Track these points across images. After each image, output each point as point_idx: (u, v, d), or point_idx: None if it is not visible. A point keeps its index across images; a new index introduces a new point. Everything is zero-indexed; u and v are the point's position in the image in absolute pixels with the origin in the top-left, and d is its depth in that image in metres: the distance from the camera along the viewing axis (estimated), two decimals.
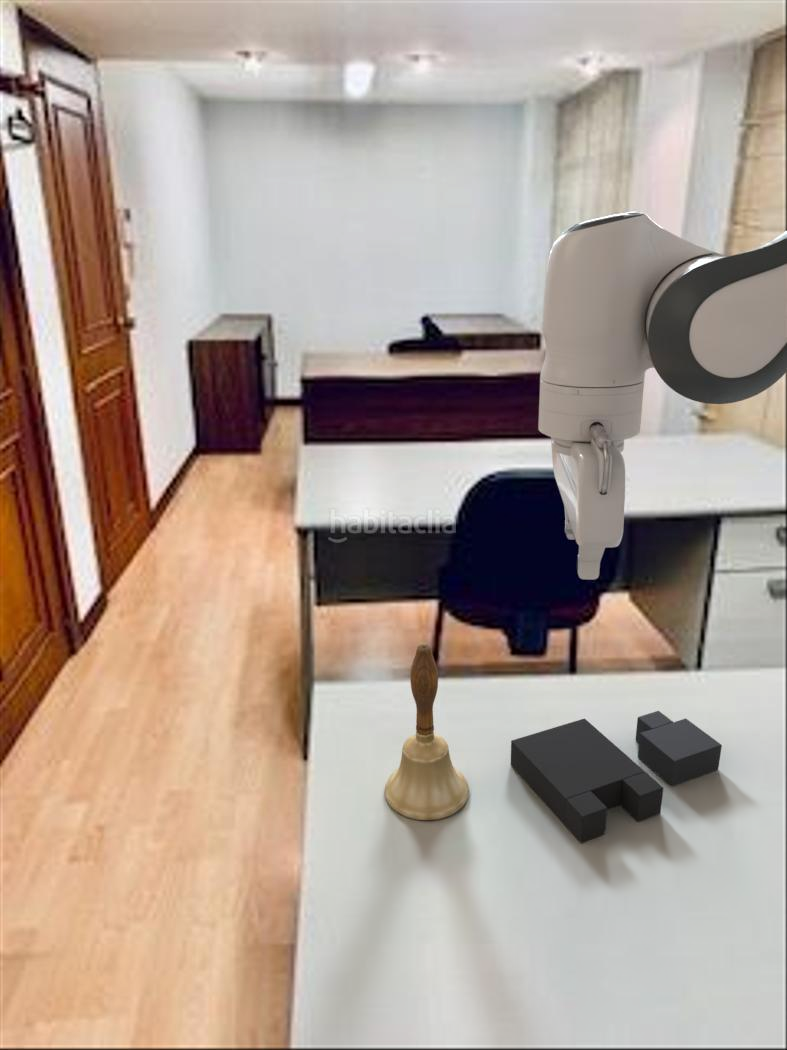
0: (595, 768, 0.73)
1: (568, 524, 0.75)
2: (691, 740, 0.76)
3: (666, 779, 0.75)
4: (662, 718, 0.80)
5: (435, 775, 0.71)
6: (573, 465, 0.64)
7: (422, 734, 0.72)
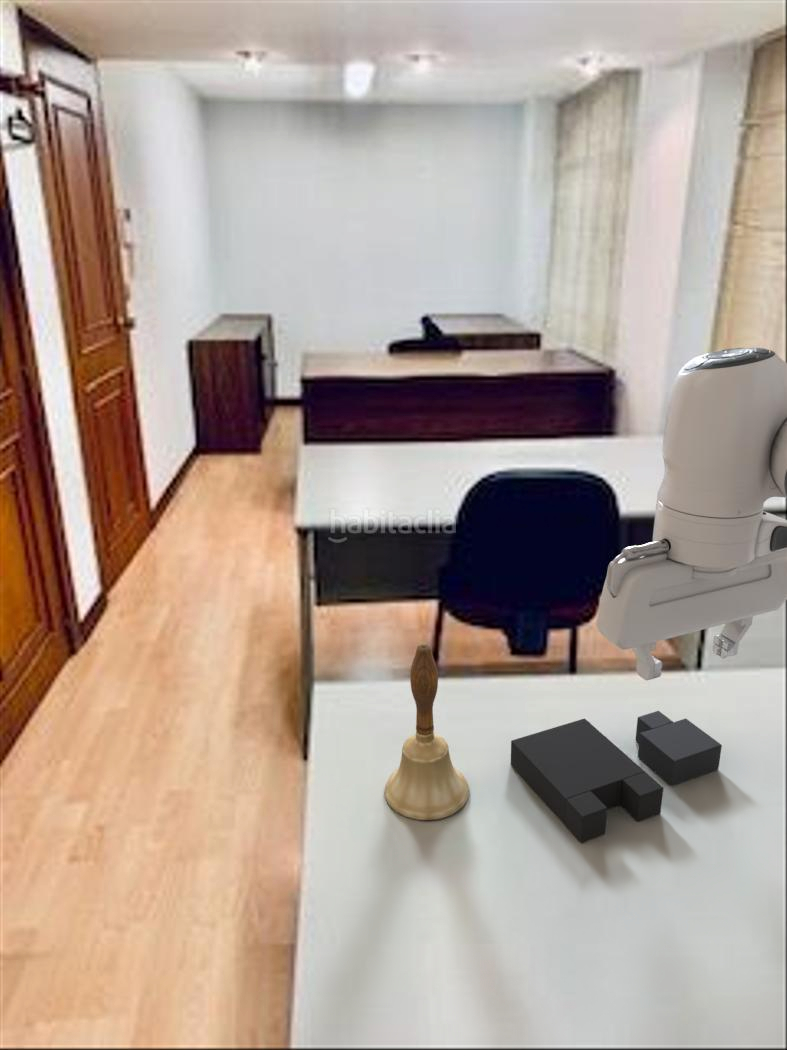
0: (595, 768, 0.73)
1: (715, 637, 0.75)
2: (691, 740, 0.76)
3: (666, 779, 0.75)
4: (662, 718, 0.80)
5: (435, 775, 0.71)
6: None
7: (422, 734, 0.72)
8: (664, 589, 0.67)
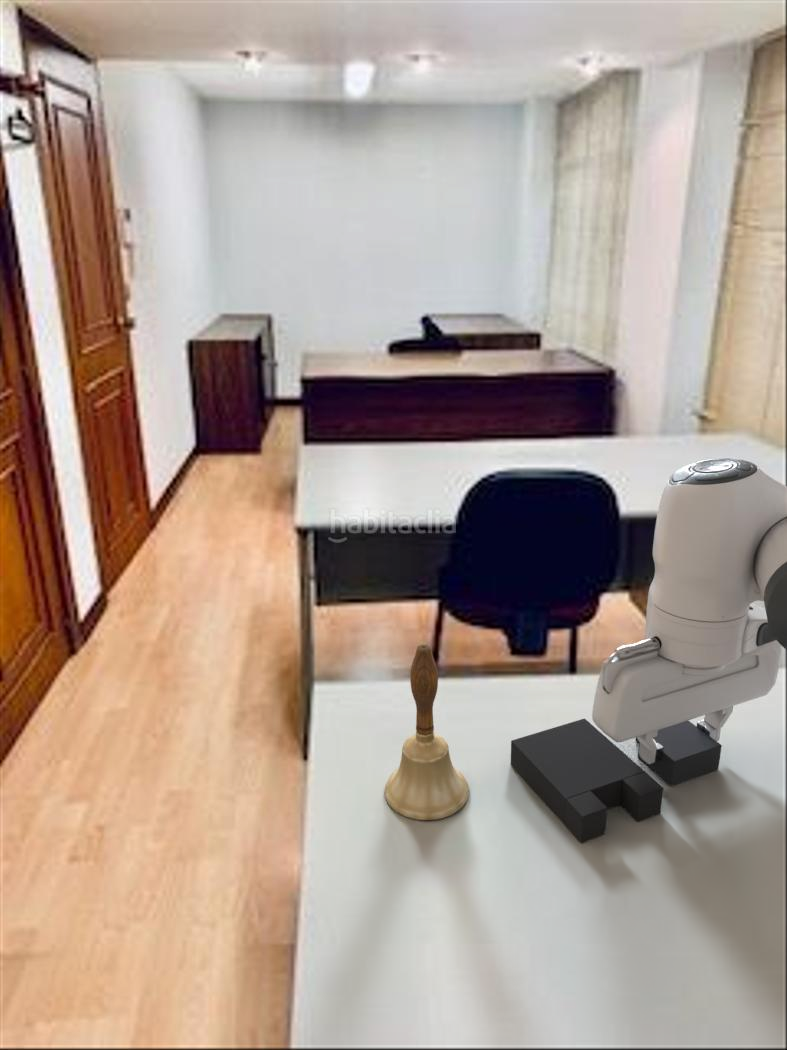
0: (595, 768, 0.73)
1: (697, 723, 0.78)
2: (691, 740, 0.76)
3: (666, 779, 0.75)
4: None
5: (435, 775, 0.71)
6: None
7: (422, 734, 0.72)
8: (655, 685, 0.70)
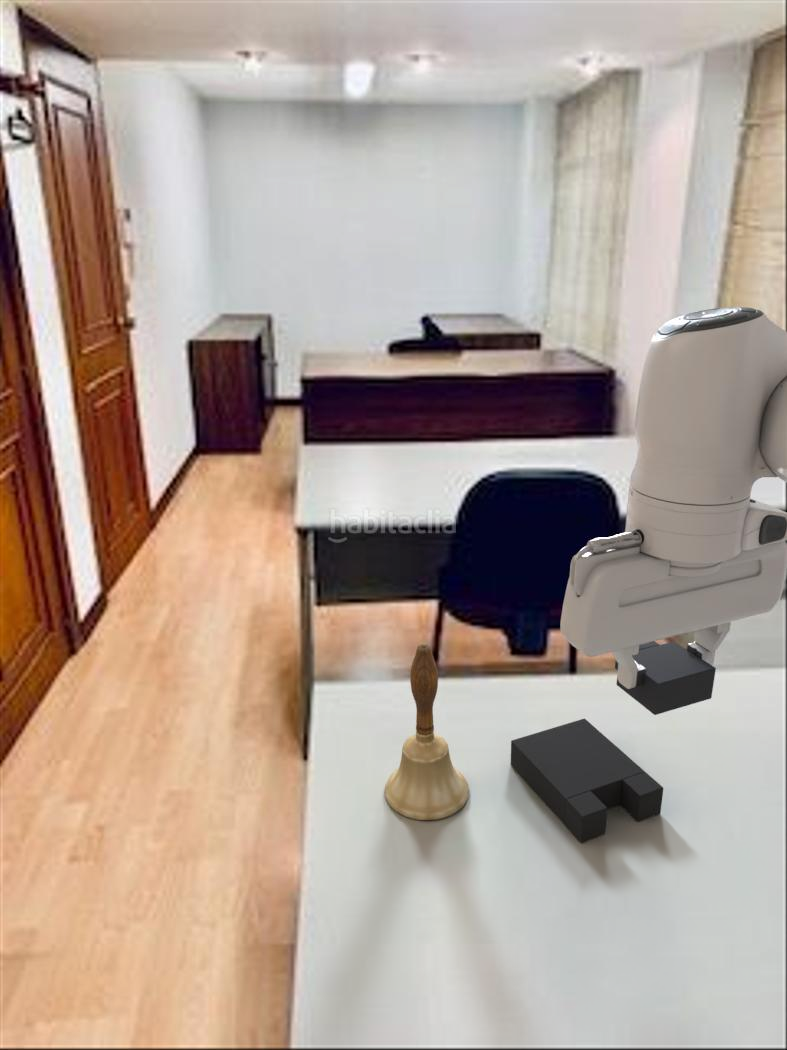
0: (595, 768, 0.73)
1: (688, 646, 0.66)
2: (679, 662, 0.64)
3: (649, 707, 0.63)
4: None
5: (435, 775, 0.71)
6: None
7: (422, 734, 0.72)
8: (636, 587, 0.58)
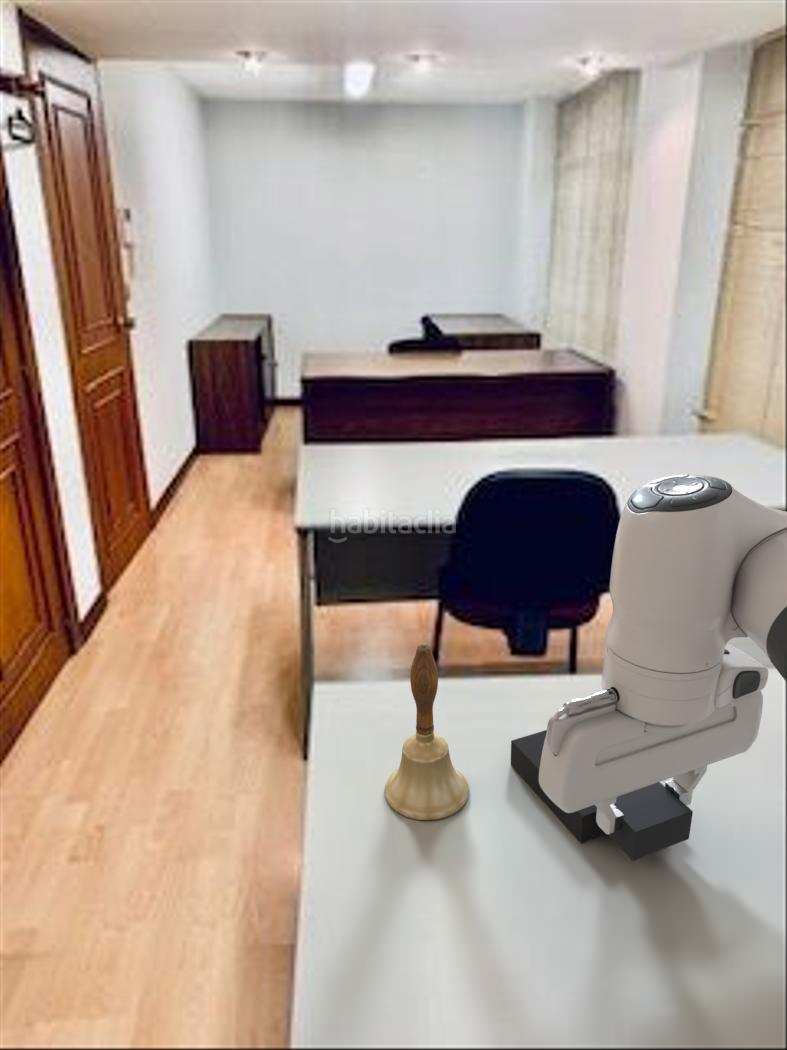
0: None
1: (666, 784, 0.67)
2: (657, 804, 0.65)
3: (627, 852, 0.64)
4: None
5: (435, 775, 0.71)
6: None
7: (422, 734, 0.72)
8: (612, 745, 0.59)
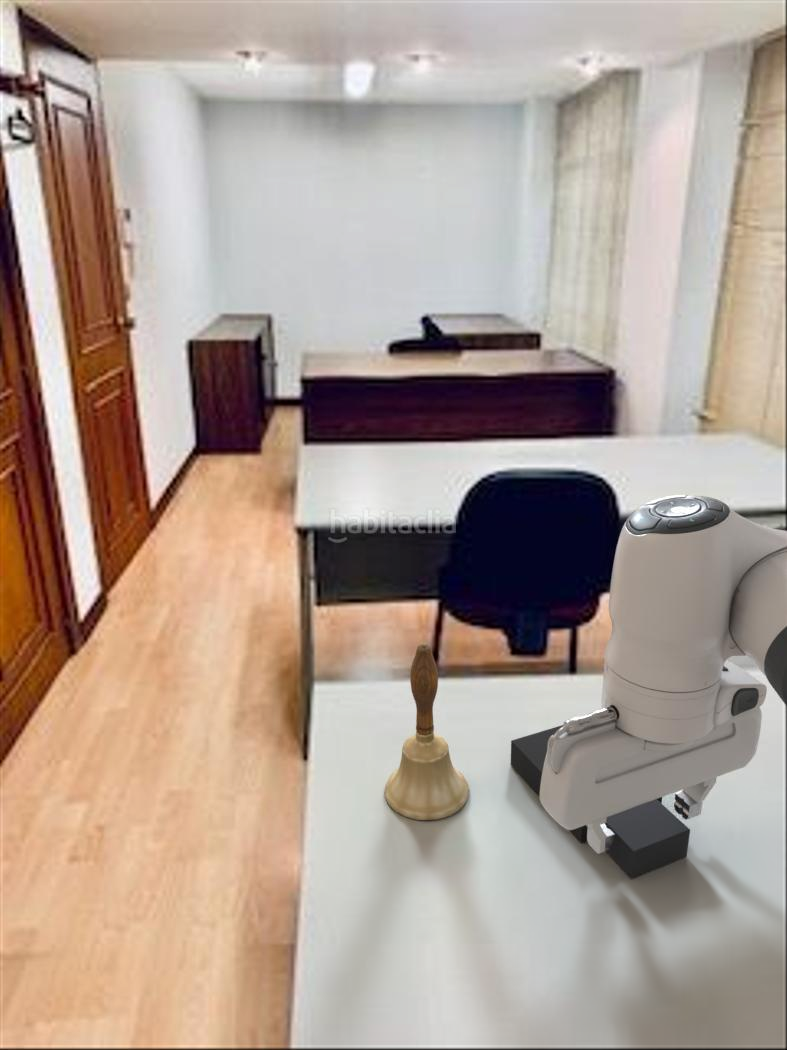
0: None
1: (676, 795, 0.68)
2: (655, 822, 0.66)
3: (625, 870, 0.64)
4: None
5: (435, 775, 0.71)
6: None
7: (422, 734, 0.72)
8: (612, 763, 0.59)
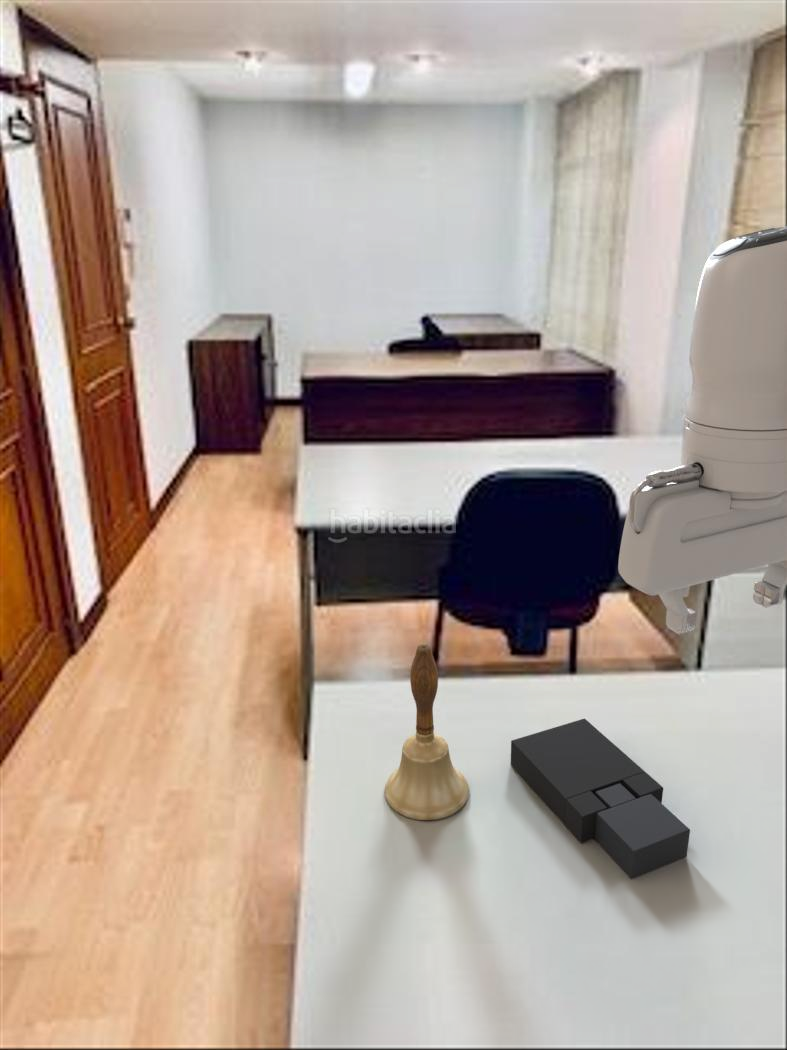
0: (595, 768, 0.73)
1: (755, 584, 0.64)
2: (655, 822, 0.66)
3: (625, 870, 0.64)
4: (623, 793, 0.69)
5: (435, 775, 0.71)
6: None
7: (422, 734, 0.72)
8: (697, 522, 0.56)
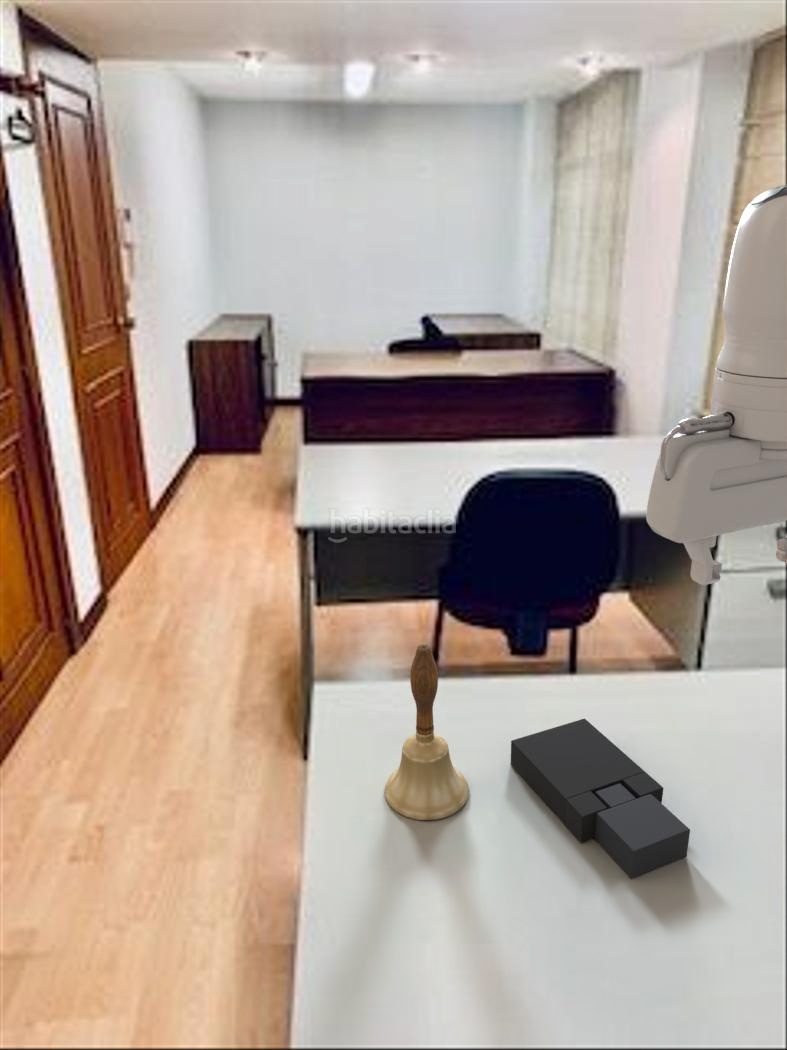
0: (595, 768, 0.73)
1: (779, 541, 0.65)
2: (655, 822, 0.66)
3: (625, 870, 0.64)
4: (623, 793, 0.69)
5: (435, 775, 0.71)
6: None
7: (422, 734, 0.72)
8: (727, 470, 0.57)
